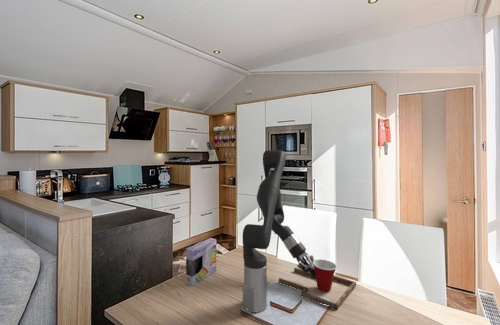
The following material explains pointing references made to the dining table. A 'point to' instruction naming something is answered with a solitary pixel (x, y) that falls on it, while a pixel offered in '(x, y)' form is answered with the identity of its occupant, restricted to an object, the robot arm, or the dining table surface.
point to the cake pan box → (200, 261)
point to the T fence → (318, 299)
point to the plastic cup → (324, 274)
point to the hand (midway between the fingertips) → (317, 277)
